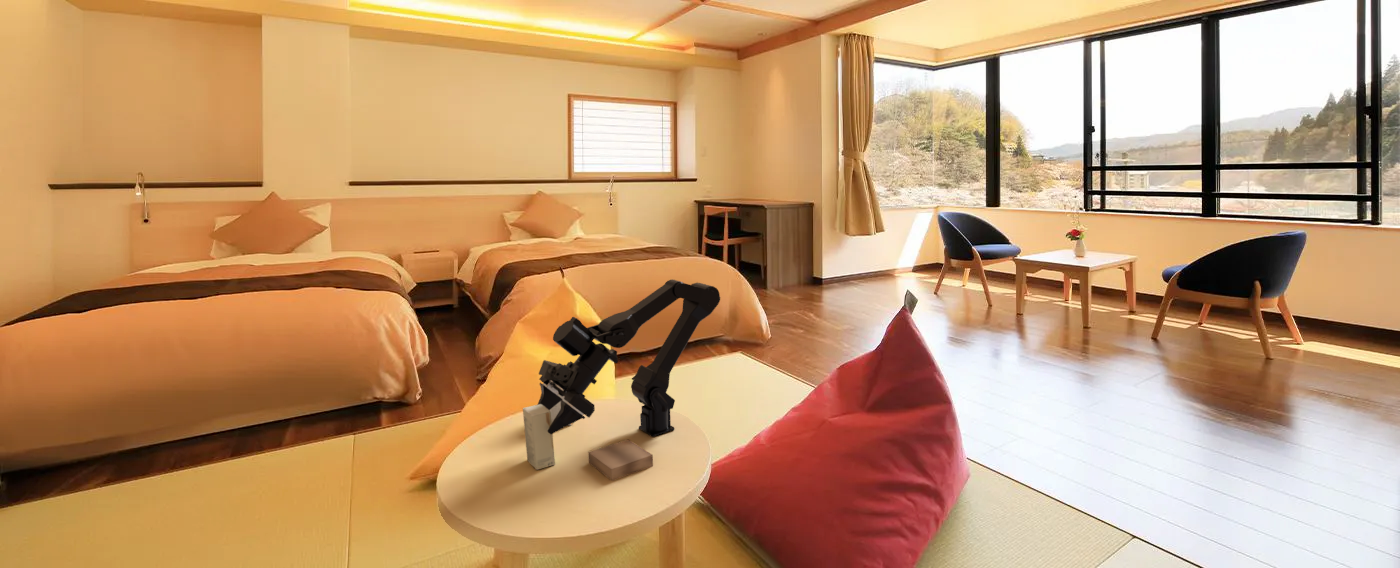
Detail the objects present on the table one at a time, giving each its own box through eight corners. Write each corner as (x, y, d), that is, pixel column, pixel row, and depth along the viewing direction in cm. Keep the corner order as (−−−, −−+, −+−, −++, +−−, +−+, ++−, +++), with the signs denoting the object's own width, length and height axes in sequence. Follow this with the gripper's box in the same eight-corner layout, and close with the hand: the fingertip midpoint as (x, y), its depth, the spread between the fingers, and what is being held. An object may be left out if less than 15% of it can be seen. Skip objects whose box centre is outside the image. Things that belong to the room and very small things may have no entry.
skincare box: (555, 465, 137) (552, 411, 135) (536, 470, 135) (532, 416, 132) (545, 454, 142) (541, 402, 140) (526, 459, 140) (522, 407, 138)
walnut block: (628, 451, 144) (628, 439, 143) (653, 467, 136) (652, 454, 136) (589, 464, 138) (588, 452, 137) (612, 482, 130) (611, 469, 130)
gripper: (545, 337, 145) (500, 393, 141) (578, 357, 129) (528, 421, 125) (579, 364, 150) (536, 418, 147) (614, 386, 135) (568, 448, 131)
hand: (541, 425), depth 137 cm, fingers open, 9 cm apart
